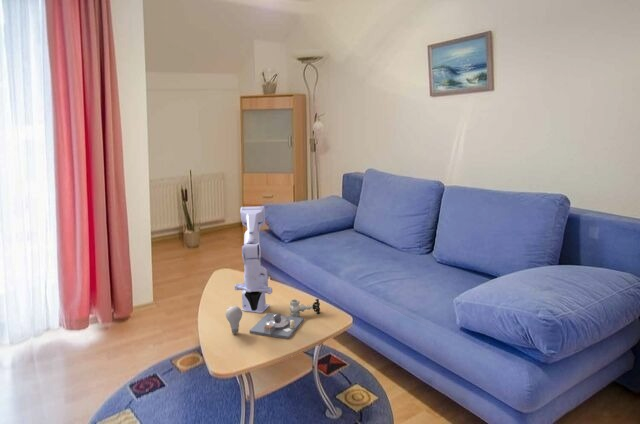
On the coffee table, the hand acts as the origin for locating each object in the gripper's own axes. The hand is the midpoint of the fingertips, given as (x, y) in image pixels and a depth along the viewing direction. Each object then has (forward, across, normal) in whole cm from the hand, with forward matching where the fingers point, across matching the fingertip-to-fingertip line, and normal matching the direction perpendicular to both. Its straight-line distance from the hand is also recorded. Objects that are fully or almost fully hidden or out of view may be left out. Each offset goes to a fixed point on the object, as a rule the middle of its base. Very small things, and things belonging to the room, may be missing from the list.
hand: (254, 309), depth 170 cm
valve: (+10, +12, +20) cm, 25 cm away
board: (+9, +6, +7) cm, 13 cm away
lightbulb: (+10, -7, -3) cm, 12 cm away
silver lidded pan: (+8, +6, +5) cm, 11 cm away
